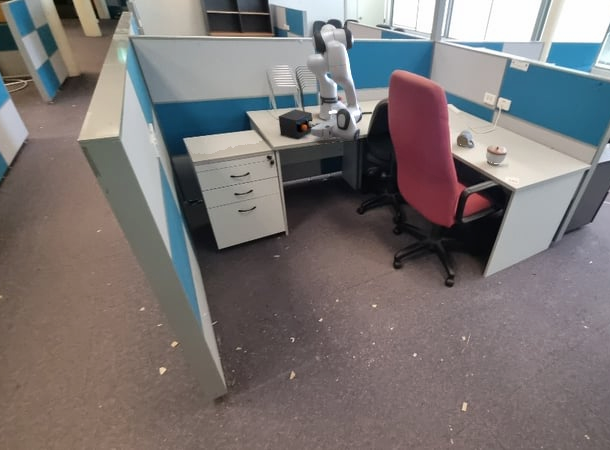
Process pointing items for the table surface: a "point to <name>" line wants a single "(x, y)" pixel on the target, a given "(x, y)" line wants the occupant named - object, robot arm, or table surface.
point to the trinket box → (495, 154)
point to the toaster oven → (295, 123)
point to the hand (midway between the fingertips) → (313, 124)
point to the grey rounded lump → (465, 139)
